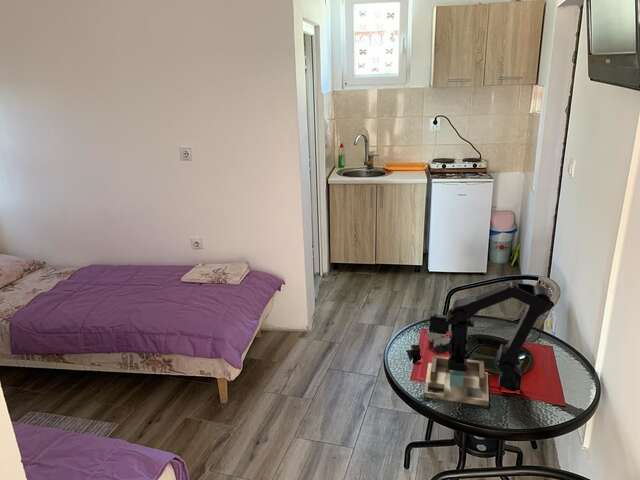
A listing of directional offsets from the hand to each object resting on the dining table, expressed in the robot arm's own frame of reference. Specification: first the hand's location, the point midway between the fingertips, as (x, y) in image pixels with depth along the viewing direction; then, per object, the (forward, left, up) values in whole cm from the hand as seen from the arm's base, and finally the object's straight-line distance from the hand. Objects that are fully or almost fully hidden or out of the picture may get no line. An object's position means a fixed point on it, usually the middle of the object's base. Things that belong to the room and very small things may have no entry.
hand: (457, 373), depth 178 cm
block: (0, +4, -1) cm, 4 cm away
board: (0, +3, -3) cm, 4 cm away
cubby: (0, -1, -1) cm, 1 cm away
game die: (+9, -24, -3) cm, 26 cm away
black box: (+16, -13, -4) cm, 21 cm away
